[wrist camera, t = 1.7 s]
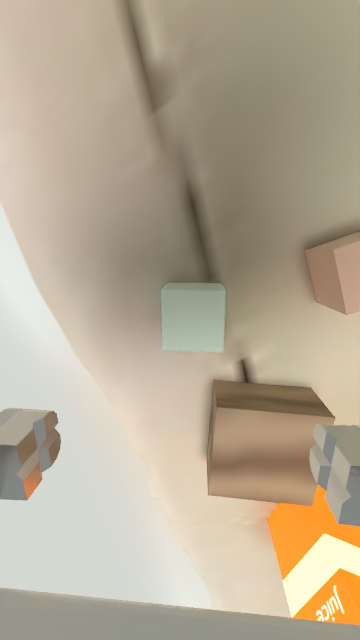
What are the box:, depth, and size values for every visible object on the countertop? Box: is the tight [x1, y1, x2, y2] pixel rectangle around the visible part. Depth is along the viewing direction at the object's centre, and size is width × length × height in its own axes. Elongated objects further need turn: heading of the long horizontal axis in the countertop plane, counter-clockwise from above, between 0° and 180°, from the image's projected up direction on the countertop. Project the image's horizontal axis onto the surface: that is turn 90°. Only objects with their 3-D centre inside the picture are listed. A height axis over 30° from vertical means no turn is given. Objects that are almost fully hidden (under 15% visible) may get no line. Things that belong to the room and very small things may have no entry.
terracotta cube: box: [305, 231, 360, 315], centre depth 20 cm, size 5×5×5 cm
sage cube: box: [161, 282, 226, 352], centre depth 22 cm, size 5×5×5 cm
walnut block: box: [207, 380, 335, 506], centre depth 25 cm, size 10×10×5 cm
